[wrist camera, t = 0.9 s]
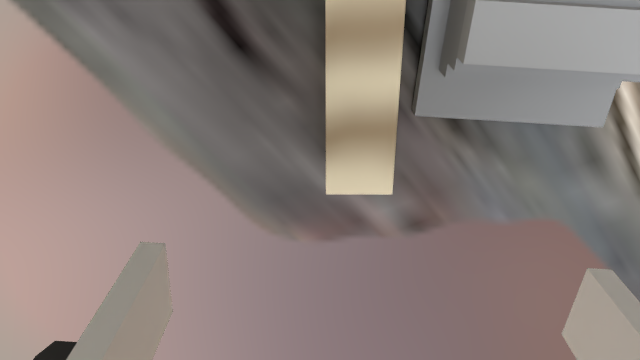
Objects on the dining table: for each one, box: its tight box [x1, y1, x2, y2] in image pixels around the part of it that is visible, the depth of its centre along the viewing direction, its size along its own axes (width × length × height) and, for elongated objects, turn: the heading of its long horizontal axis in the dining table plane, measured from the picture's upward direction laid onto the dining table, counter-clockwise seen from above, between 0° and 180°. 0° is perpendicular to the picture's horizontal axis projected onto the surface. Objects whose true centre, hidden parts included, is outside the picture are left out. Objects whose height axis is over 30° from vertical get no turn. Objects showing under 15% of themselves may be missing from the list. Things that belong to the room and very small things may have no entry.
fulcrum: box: [412, 0, 640, 127], centre depth 26 cm, size 12×12×6 cm
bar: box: [325, 0, 406, 194], centre depth 26 cm, size 20×4×5 cm, turn 0°
